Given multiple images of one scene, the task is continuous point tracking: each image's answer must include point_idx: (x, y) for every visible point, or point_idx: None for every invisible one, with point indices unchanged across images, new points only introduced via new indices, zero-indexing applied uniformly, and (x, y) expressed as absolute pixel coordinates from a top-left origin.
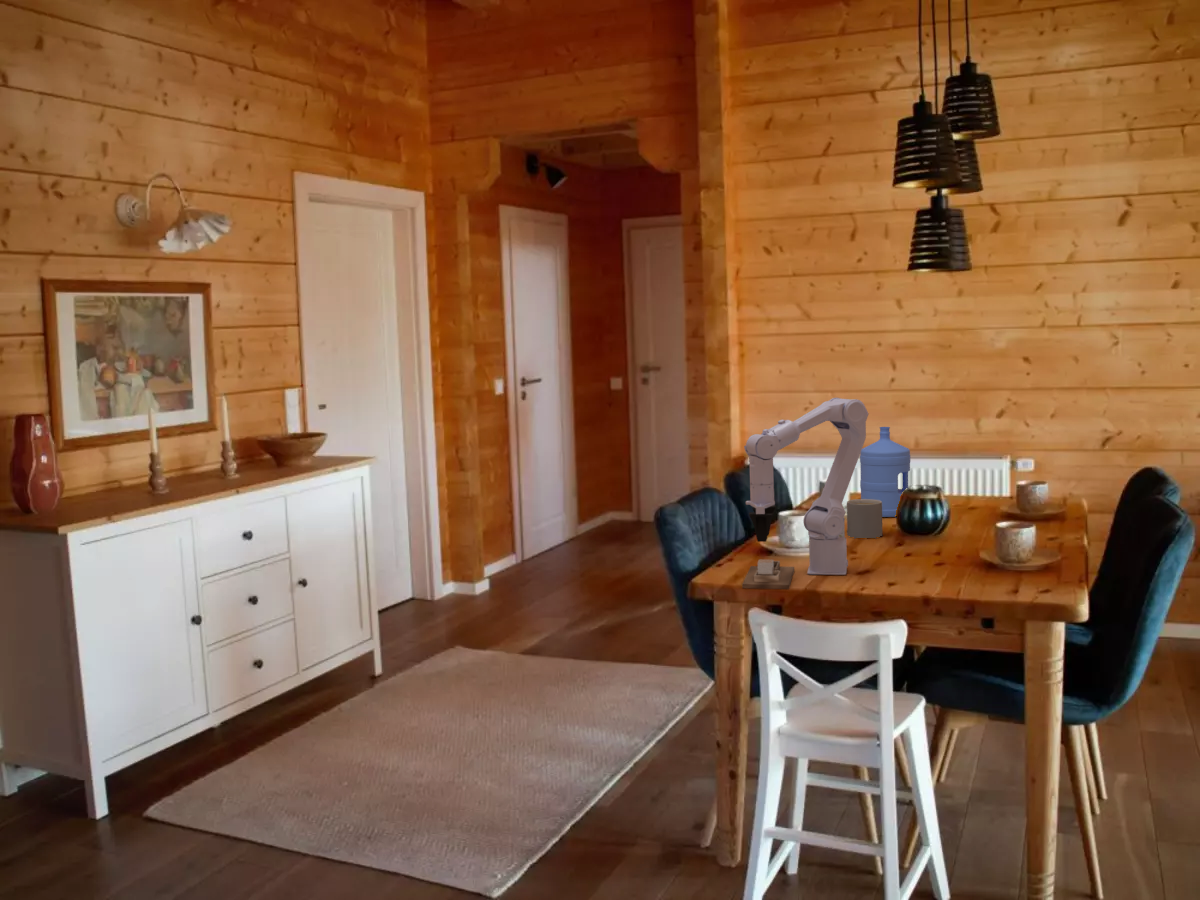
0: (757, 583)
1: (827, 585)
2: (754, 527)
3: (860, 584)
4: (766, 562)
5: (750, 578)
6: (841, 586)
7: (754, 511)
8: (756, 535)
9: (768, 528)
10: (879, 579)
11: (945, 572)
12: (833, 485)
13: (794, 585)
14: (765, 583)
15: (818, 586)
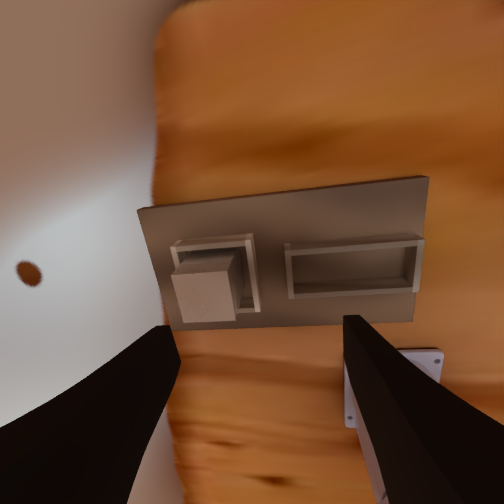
0: (159, 253)
1: (236, 392)
2: (69, 388)
3: (260, 442)
4: (180, 305)
5: (218, 219)
6: (234, 414)
7: (451, 492)
8: (127, 347)
9: (357, 396)
10: (312, 468)
11: None
12: None
13: (218, 331)
14: (167, 274)
15: (222, 377)
